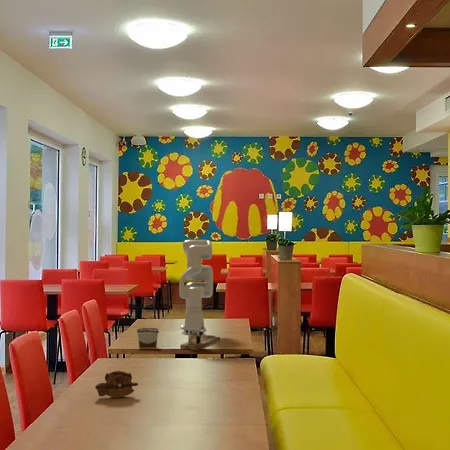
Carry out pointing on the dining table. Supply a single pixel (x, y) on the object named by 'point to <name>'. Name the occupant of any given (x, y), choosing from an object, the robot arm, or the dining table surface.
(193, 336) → the beige rectangular block
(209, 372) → the dining table surface
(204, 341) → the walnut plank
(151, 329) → the food container
